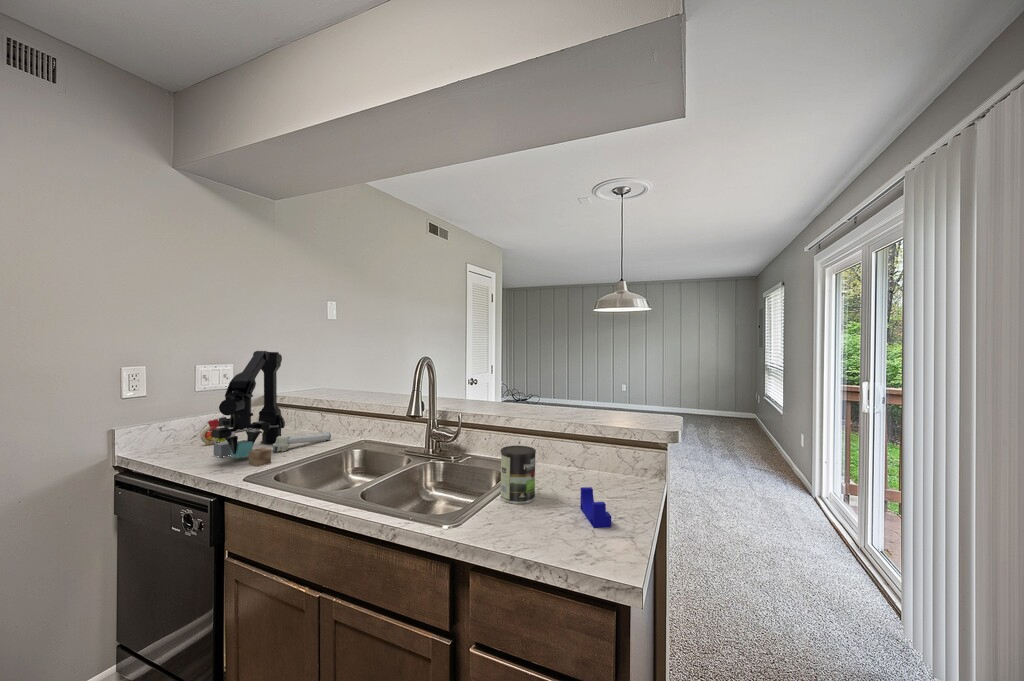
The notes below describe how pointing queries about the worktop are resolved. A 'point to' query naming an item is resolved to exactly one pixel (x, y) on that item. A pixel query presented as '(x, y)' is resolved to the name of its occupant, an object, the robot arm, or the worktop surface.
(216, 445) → the charcoal block
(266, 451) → the walnut block
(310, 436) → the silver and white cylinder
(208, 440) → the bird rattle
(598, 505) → the blue stepped block
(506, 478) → the coffee can
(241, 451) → the teal block
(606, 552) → the worktop surface
